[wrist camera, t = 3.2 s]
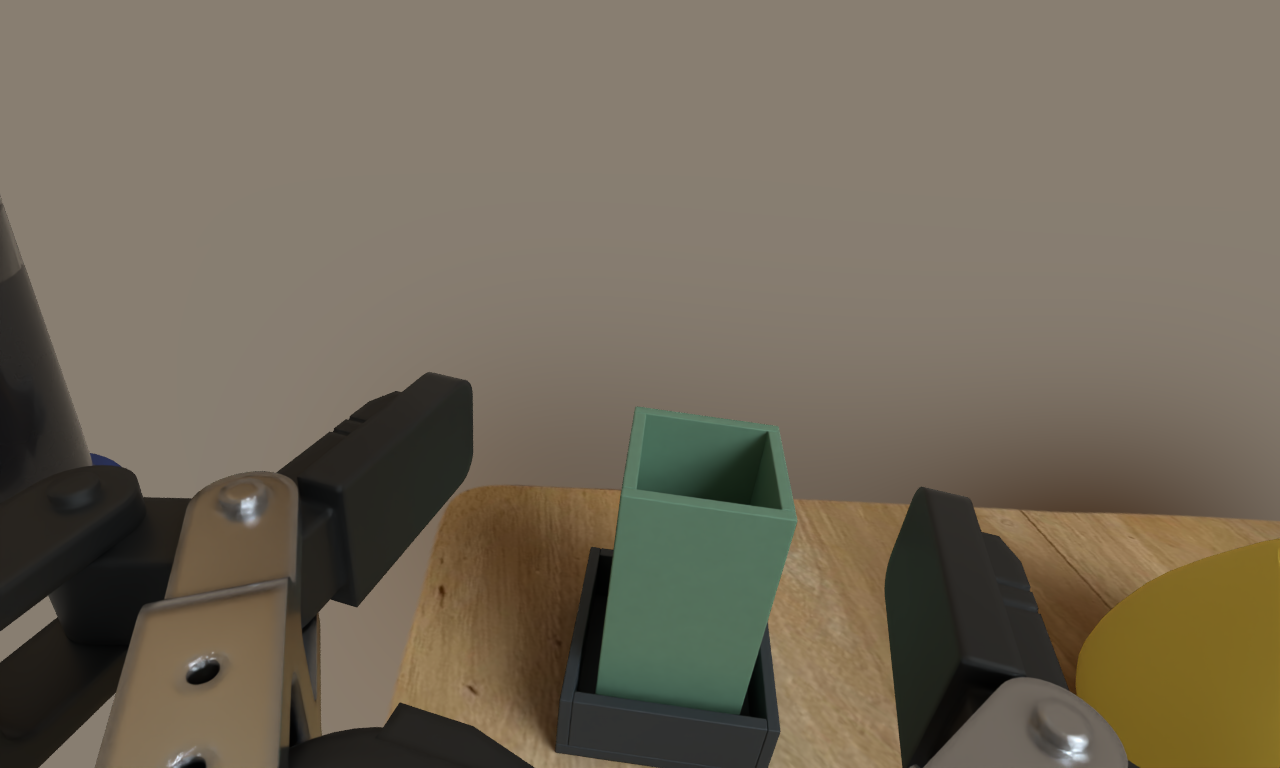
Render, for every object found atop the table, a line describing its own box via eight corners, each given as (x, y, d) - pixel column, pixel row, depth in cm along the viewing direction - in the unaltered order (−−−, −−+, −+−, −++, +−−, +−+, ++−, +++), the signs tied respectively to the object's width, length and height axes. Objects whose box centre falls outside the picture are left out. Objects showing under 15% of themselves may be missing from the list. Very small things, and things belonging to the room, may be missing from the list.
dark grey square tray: (554, 753, 27) (559, 700, 26) (585, 595, 35) (590, 546, 33) (762, 783, 27) (780, 732, 25) (748, 618, 35) (761, 570, 33)
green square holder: (591, 719, 28) (620, 495, 22) (608, 609, 33) (635, 405, 27) (732, 739, 28) (798, 520, 22) (727, 626, 33) (778, 425, 27)
